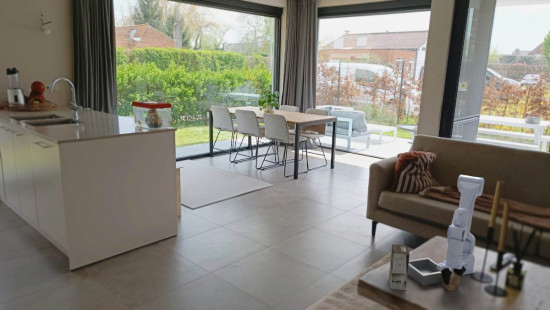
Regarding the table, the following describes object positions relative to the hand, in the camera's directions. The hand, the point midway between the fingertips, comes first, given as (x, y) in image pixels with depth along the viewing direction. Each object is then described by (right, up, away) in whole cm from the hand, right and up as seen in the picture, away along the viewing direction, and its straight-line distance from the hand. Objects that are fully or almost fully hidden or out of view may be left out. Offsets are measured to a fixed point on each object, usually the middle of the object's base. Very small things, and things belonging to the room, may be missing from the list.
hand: (450, 283), depth 165 cm
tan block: (0, -2, 0) cm, 2 cm away
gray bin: (-7, 0, +9) cm, 12 cm away
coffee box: (-22, -1, +2) cm, 22 cm away
